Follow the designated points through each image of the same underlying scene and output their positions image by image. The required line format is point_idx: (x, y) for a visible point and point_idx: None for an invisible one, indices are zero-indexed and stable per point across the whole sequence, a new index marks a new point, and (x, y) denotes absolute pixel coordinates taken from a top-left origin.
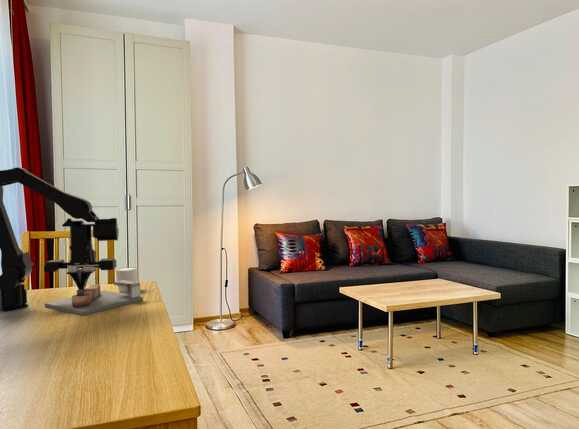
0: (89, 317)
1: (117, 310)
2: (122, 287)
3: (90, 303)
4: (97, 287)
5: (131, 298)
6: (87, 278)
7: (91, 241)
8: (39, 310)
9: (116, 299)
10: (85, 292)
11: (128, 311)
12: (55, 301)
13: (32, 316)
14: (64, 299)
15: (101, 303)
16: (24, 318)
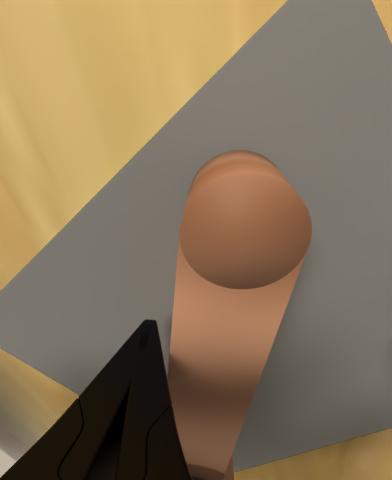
0: (242, 477)
1: (339, 453)
2: None
3: None
4: (277, 329)
5: None
6: (177, 472)
7: None
8: (5, 363)
9: (372, 386)
10: (200, 444)
11: (374, 471)
12: (6, 311)
13: (38, 421)
14: (37, 280)
15: (285, 421)
16: (25, 430)
